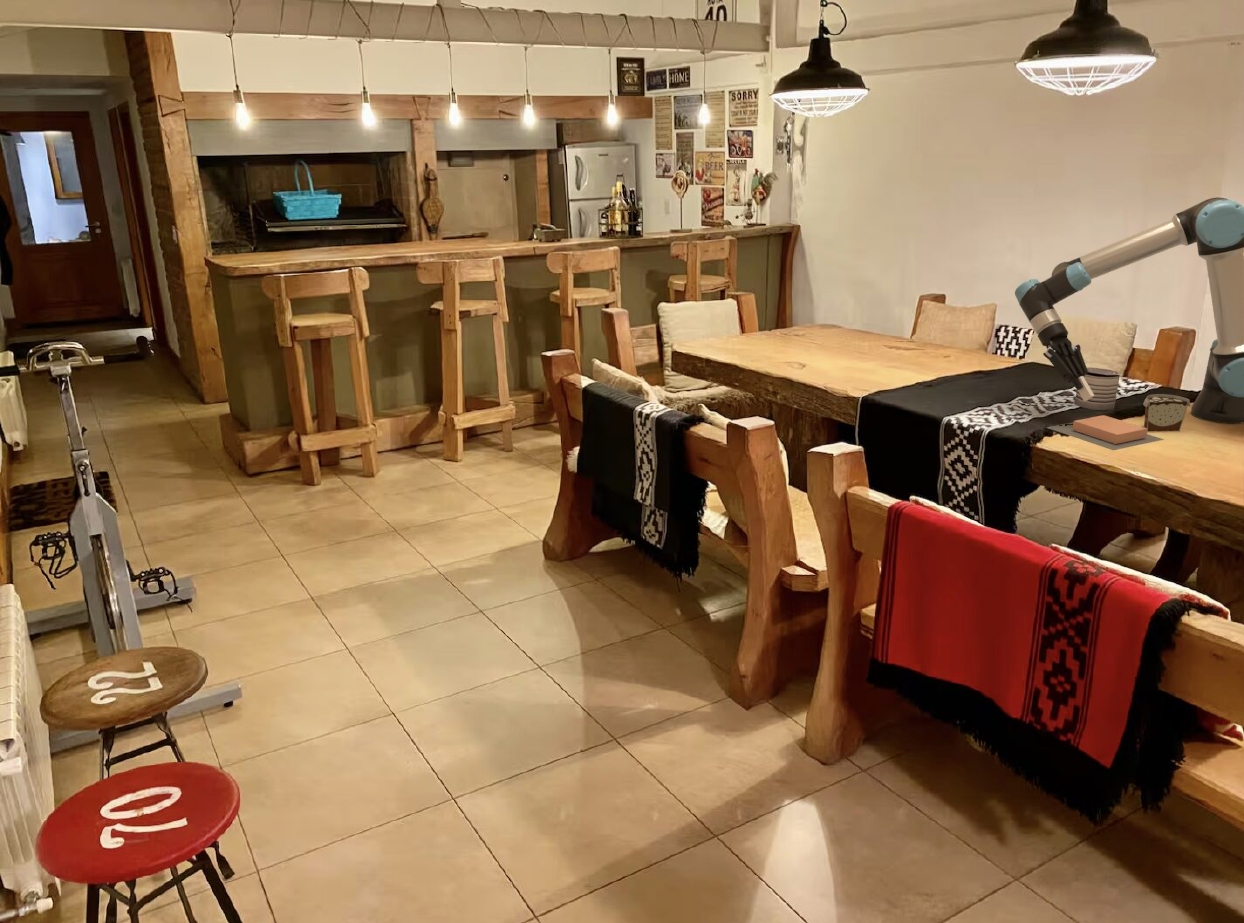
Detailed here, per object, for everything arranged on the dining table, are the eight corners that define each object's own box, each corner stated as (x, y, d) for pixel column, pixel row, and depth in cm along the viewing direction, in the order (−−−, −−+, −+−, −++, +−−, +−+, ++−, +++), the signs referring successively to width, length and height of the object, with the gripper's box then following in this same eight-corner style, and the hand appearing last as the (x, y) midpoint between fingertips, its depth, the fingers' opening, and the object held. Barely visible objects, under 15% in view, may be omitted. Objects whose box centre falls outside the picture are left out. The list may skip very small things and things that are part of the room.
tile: (1103, 415, 266) (1147, 428, 254) (1101, 425, 267) (1145, 438, 255) (1073, 420, 261) (1117, 434, 249) (1072, 430, 262) (1115, 445, 250)
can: (1065, 404, 290) (1071, 366, 286) (1093, 400, 294) (1099, 363, 289) (1094, 414, 280) (1101, 375, 276) (1123, 410, 284) (1130, 371, 279)
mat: (1094, 420, 274) (1095, 418, 273) (1163, 442, 255) (1164, 439, 255) (1045, 430, 266) (1045, 427, 266) (1112, 452, 247) (1113, 450, 247)
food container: (1171, 426, 268) (1178, 393, 264) (1184, 433, 262) (1191, 399, 258) (1129, 427, 267) (1135, 394, 264) (1141, 434, 262) (1147, 400, 258)
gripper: (1056, 333, 276) (1095, 402, 268) (1024, 338, 271) (1063, 407, 263) (1074, 319, 270) (1115, 388, 262) (1042, 323, 265) (1082, 394, 256)
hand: (1089, 398), depth 262 cm, fingers closed
